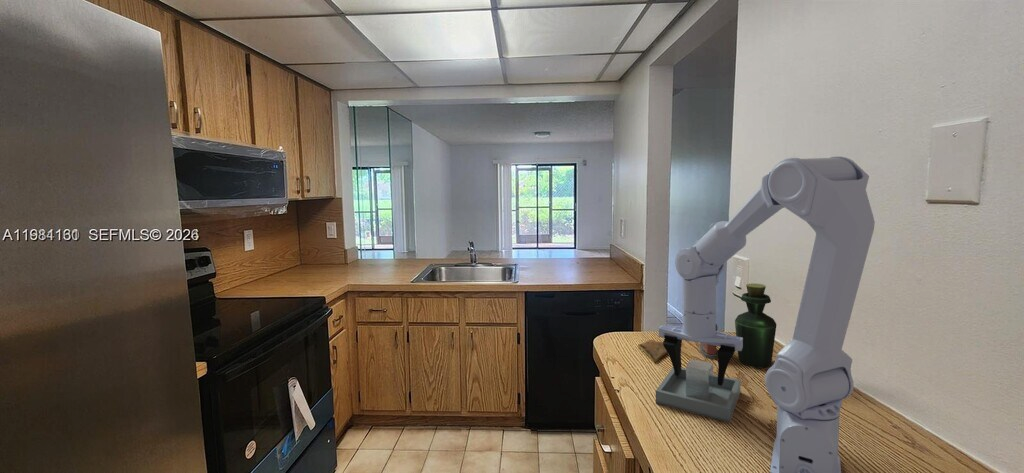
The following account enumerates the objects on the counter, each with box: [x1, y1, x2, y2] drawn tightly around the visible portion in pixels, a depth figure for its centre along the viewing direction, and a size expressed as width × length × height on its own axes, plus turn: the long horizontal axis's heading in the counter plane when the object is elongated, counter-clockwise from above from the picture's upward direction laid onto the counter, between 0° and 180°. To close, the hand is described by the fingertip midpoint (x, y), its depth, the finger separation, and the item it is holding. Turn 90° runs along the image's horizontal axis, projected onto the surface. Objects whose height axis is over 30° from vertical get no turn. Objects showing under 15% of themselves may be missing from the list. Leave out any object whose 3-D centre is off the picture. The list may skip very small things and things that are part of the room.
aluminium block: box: [685, 358, 714, 402], centre depth 78 cm, size 4×4×6 cm
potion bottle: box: [734, 283, 777, 369], centre depth 92 cm, size 8×8×18 cm
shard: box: [637, 339, 668, 364], centre depth 101 cm, size 11×8×2 cm
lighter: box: [698, 323, 718, 360], centre depth 99 cm, size 8×3×10 cm, turn 168°
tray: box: [655, 367, 742, 424], centre depth 78 cm, size 13×13×2 cm
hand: (698, 378), depth 78 cm, fingers open, 7 cm apart
